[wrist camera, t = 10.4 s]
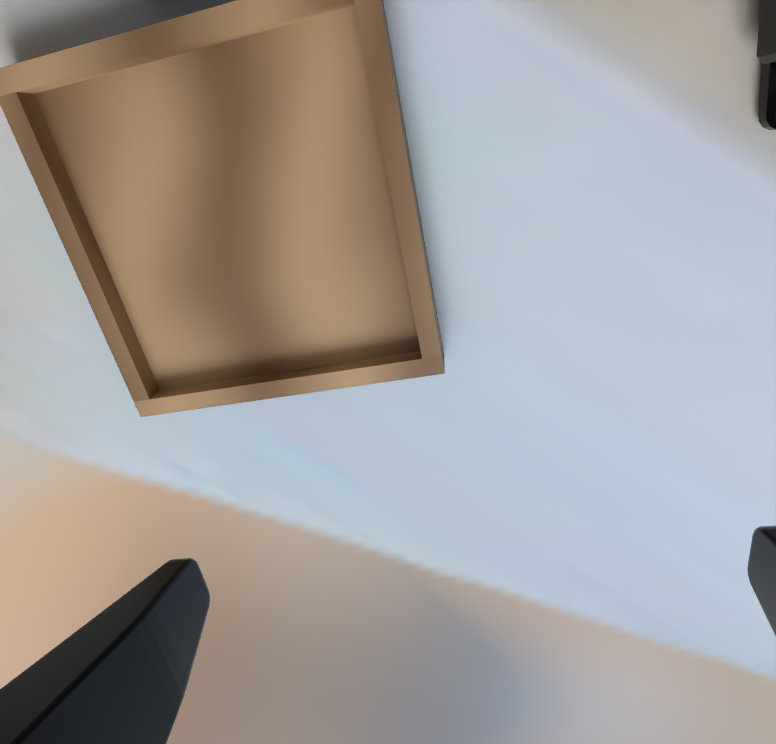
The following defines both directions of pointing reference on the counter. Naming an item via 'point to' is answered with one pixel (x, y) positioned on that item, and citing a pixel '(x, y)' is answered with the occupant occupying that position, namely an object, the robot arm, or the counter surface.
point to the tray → (236, 200)
